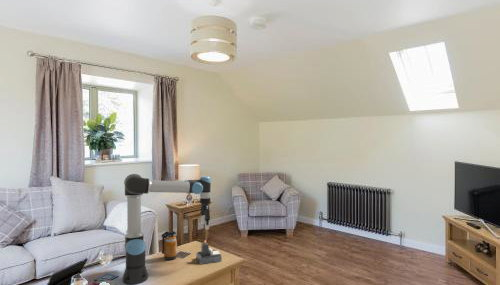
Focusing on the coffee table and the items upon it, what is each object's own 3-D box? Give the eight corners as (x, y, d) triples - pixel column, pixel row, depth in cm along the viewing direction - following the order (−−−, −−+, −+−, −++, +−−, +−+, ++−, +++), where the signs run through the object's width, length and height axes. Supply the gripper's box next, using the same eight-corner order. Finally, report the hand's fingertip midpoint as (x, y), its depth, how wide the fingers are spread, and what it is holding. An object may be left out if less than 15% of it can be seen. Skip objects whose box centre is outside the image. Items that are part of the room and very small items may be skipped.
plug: (202, 261, 223) (202, 241, 223) (201, 259, 227) (201, 240, 227) (208, 260, 225) (208, 241, 225) (207, 259, 228) (207, 239, 228)
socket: (199, 264, 218) (199, 257, 218) (196, 258, 229) (196, 251, 229) (221, 261, 224) (221, 254, 224) (217, 255, 235) (217, 249, 235)
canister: (177, 259, 226) (177, 232, 226) (161, 261, 223) (161, 233, 223) (176, 255, 235) (176, 229, 235) (161, 256, 232) (161, 230, 231)
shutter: (210, 255, 224) (211, 251, 224) (208, 252, 230) (208, 248, 230) (220, 254, 226) (220, 250, 226) (217, 251, 233) (217, 247, 233)
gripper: (214, 200, 215) (214, 230, 215) (206, 194, 239) (205, 222, 239) (204, 201, 213) (203, 231, 213) (196, 195, 236) (196, 222, 236)
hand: (204, 226), depth 226 cm, fingers open, 13 cm apart
